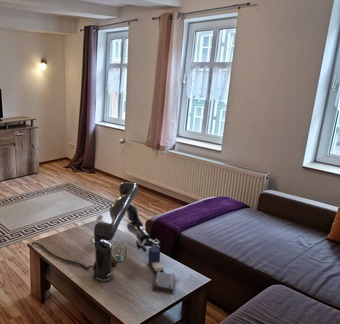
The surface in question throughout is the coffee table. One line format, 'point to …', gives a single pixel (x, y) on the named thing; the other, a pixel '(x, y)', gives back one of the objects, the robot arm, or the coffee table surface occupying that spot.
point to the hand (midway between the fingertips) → (152, 249)
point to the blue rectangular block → (155, 260)
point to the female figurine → (99, 219)
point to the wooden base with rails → (164, 282)
